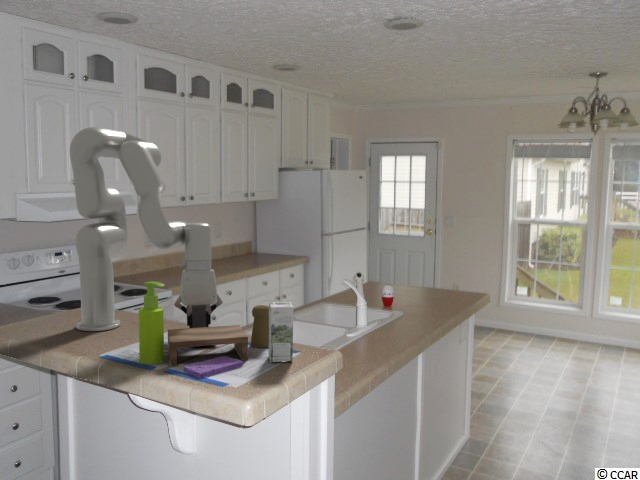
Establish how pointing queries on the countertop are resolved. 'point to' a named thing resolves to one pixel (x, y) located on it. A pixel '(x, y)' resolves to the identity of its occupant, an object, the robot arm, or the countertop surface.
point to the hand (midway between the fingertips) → (198, 326)
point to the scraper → (199, 316)
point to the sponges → (212, 366)
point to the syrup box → (280, 331)
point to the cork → (260, 326)
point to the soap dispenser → (151, 327)
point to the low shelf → (207, 339)
